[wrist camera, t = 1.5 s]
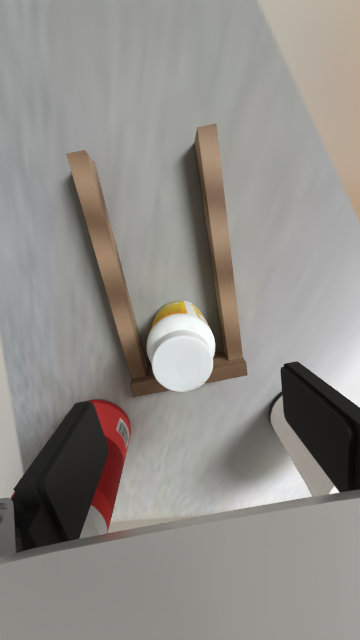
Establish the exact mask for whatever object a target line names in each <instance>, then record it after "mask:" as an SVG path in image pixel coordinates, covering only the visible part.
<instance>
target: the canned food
mask: <svg viewBox="0 0 360 640" xmlns="http://www.w3.org/2000/svg"><path fill="white" fill-rule="evenodd" d="M89 402H90V403H93V404H94V406H95V409H96V412H97V415H98V418H99V420H100V423H101V426H102V429H103V432H104V435H105V438H106V441H107V444H108V447H109V453H108V457H107V460H106V463H105V466H104V468H103V471H102V474H101V477H100V480H99V483H98V486H97V489H96V492H95V494H94V497H93V500H92V503H91V506H90V509H89V512H88V515H87V518H86V520H85V523H84V526H83V529H82V532H81V535H80V538H79V539H81V538H86V537H91V536H97V535H102V534H107V533H108V529H109V525H110V521H111V517H112V513H113V509H114V504H115V500H116V496H117V491H118V487H119V483H120V478H121V474H122V470H123V465H124V461H125V457H126V453H127V448H128V444H129V440H130V435H131V428H130V422H129V419H128V416H127V415H126V413H125V412H124V411H123V410H122V409H121V408H120V407H118V406H117V405H115V404H113V403H111V402H109V401H105V400H89ZM14 494H15V492H14ZM14 494H13V495H12V497H13V496H14ZM12 497H11V499H12Z"/></svg>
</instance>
